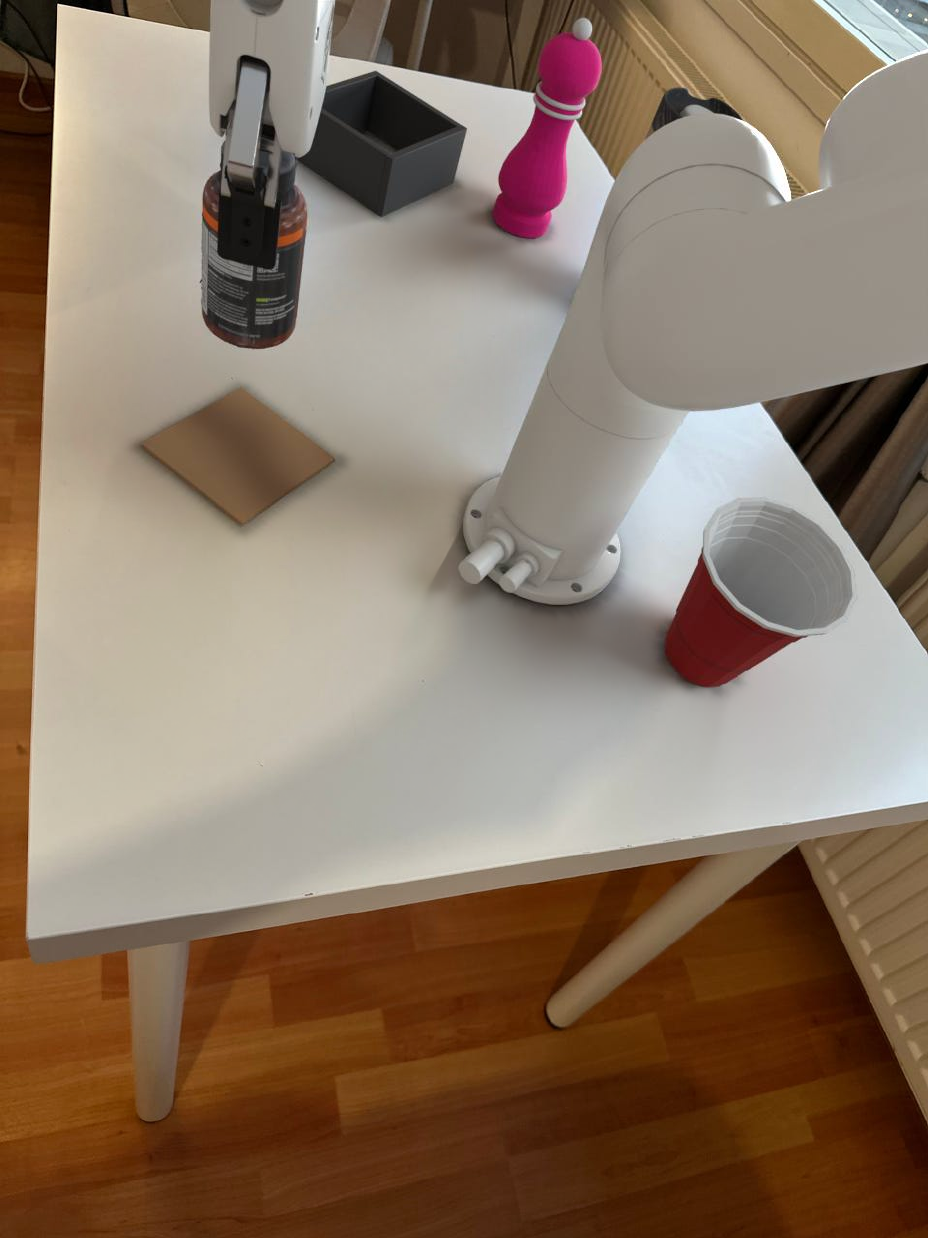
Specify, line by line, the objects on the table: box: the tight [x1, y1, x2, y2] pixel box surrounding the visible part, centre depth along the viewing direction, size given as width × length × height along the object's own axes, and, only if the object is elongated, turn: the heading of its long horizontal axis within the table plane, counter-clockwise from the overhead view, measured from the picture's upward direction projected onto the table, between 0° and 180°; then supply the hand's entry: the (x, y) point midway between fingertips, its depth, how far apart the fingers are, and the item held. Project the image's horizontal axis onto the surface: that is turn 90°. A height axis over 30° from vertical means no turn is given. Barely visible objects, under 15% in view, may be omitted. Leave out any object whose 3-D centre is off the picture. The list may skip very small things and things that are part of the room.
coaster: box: [140, 386, 336, 527], centre depth 66 cm, size 10×10×1 cm
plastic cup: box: [664, 496, 858, 688], centre depth 61 cm, size 11×11×12 cm
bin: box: [297, 70, 468, 218], centre depth 92 cm, size 13×13×6 cm
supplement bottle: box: [199, 135, 308, 350], centre depth 52 cm, size 6×6×11 cm
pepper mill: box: [492, 17, 603, 239], centre depth 87 cm, size 7×7×20 cm
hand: (256, 225), depth 51 cm, fingers closed on supplement bottle, 6 cm apart
